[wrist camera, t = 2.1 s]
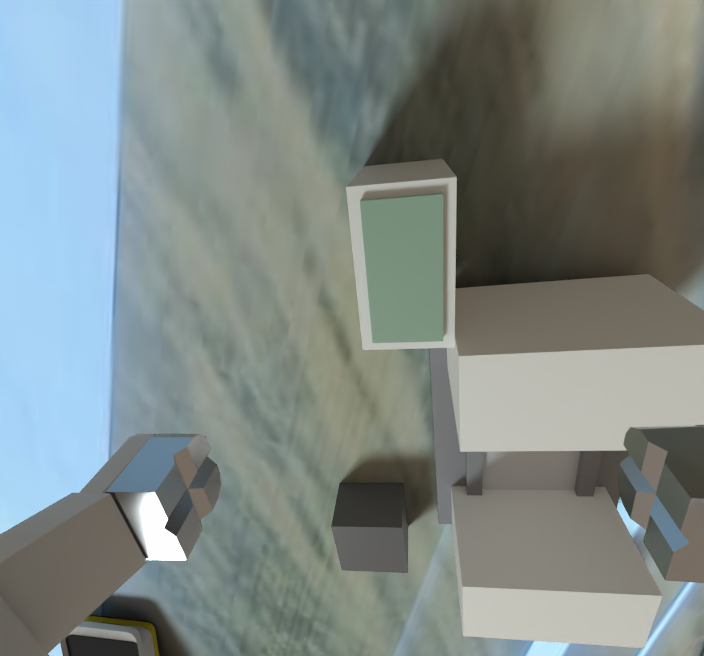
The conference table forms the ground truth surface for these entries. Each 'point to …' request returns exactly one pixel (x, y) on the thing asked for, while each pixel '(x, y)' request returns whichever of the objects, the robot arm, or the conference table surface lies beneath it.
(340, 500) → the grey cube-like block
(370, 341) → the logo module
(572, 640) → the rail base
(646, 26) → the conference table surface
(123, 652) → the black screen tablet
